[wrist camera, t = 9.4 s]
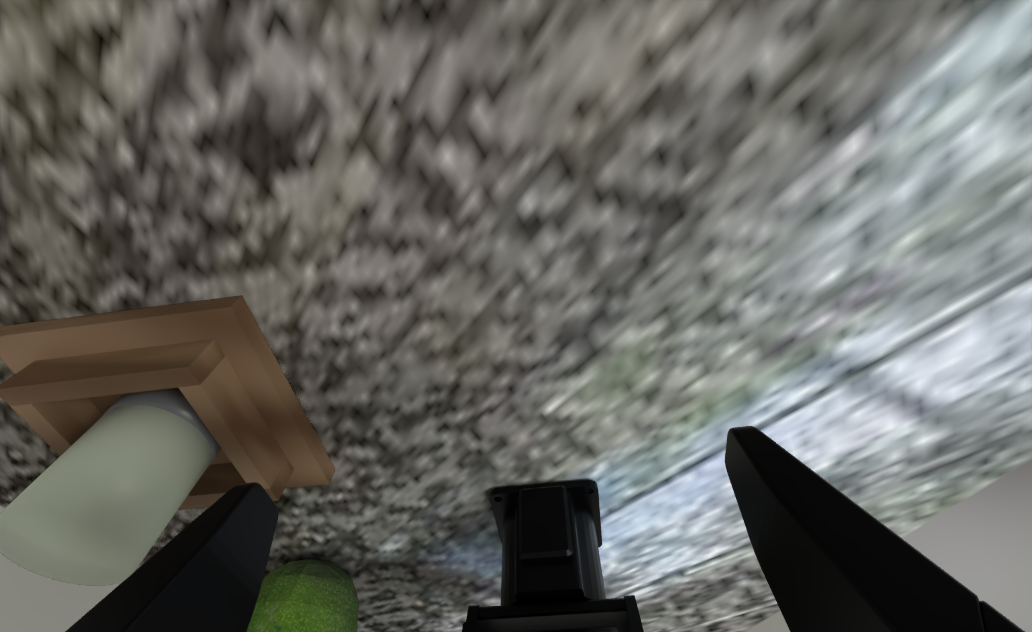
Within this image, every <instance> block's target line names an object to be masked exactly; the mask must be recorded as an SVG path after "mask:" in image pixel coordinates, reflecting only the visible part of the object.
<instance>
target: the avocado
mask: <svg viewBox="0 0 1032 632" xmlns="http://www.w3.org/2000/svg"><path fill="white" fill-rule="evenodd" d="M358 607H359V605H358V597H357V593H356V590H355V587H354V584H353V581H352V580H351V578H350V577H349V576H348V575H347V574H346V573H345V572H344V571H343V570H342V569H340V568H339V567H338V566H337V565H336V564H334V563H332V562H328V561H323V560H318V559H308V560H299V561H290V562H288V563H287V564H285V565H283V566H281V567H279V568H277V569H275V570H274V571H272V572H271V573H270V574H269V575H267V576H266V577H265V578H264V579H263V581H262V585H261V589H260V592H259V596H258V600H257V603H256V606H255V609H254V612H253V615H252V618H251V621H250V624H249V627H248V629H247V632H357V620H358Z"/></svg>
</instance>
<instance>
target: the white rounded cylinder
mask: <svg viewBox="0 0 1032 632" xmlns="http://www.w3.org/2000/svg"><path fill="white" fill-rule="evenodd" d="M221 449H222V448H221V447H220V445H219V444H218V443H217V441H216V440H215V438H214V437H213V435H212V434H211V433H210V431H209V430H208V428H207V427H206V426H205V424H204V423H203V421H202V420H201V419H200V417H199V416H198V414H197V413H196V412H195V410H194V409H193V407H192V406H191V405H190V403H189V402H188V400H187V399H186V398H185V396H184V395H183V393H182V392H181V391H180V389H179V388H169V389H160V390H151V391H143V392H134V393H125V394H124V395H123V396H122V397H121V398H120V399H119V400H118V401H117V402H116V403H114V404H113V405H112V406H111V407H110V408H109V409H108V410H107V411H106V412H105V413H104V414H103V415H102V417H101V418H100V419H99V420H98V421H97V422H96V423H95V424H94V425H93V426H92V427H91V428H90V429H89V430H88V431H87V432H85V433H84V434H83V435H82V436H81V437H80V438H79V439H78V440H77V441H76V442H75V443H74V444H73V445H72V446H71V447H70V448H69V449H67V450H66V451H65V452H64V453H63V454H62V455H61V456H60V457H59V458H58V459H57V460H56V461H55V462H54V463H53V464H52V465H51V466H49V467H48V468H47V469H46V470H45V471H44V472H43V473H42V474H41V475H40V476H39V477H38V478H37V479H36V480H35V481H34V482H33V483H31V484H30V485H29V486H28V487H27V488H26V489H25V490H24V491H23V492H22V493H21V494H20V495H19V496H18V497H17V498H16V499H15V500H13V501H12V502H11V503H10V504H9V505H8V506H7V507H6V508H5V509H4V510H3V511H2V512H1V513H0V553H1V554H2V555H4V556H5V557H6V558H8V559H9V560H11V561H12V562H14V563H15V564H17V565H19V566H21V567H23V568H25V569H27V570H29V571H31V572H34V573H36V574H39V575H41V576H44V577H47V578H51V579H54V580H58V581H62V582H66V583H72V584H78V585H87V586H105V585H112V584H117V583H120V582H123V581H124V580H126V579H127V578H128V577H129V576H130V575H131V574H133V573H134V571H135V570H136V569H137V567H138V566H139V564H140V563H141V561H142V560H143V559H144V557H145V556H146V554H147V553H148V551H149V550H150V549H151V547H152V546H153V544H154V543H155V541H156V540H157V539H158V537H159V536H160V534H161V533H162V531H163V530H164V529H165V527H166V526H167V524H168V523H169V521H170V520H171V519H172V517H173V516H174V514H175V513H176V511H177V510H178V509H179V507H180V506H181V504H182V503H183V501H184V500H185V499H186V497H187V496H188V494H189V493H190V491H191V490H192V489H193V487H194V486H195V484H196V483H197V481H198V480H199V479H200V477H201V476H202V474H203V473H204V471H205V470H206V469H207V468H208V467H209V466H210V465H211V463H212V462H213V460H214V459H215V458H216V456H217V455H218V453H219V452H220V450H221Z"/></svg>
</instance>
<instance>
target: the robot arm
mask: <svg viewBox="0 0 1032 632" xmlns="http://www.w3.org/2000/svg"><path fill="white" fill-rule="evenodd" d="M725 465H726V470H727V473H728V476H729V479H730V482H731V485H732V488H733V491H734V494H735V497H736V500H737V503H738V506H739V509H740V511H741V514H742V517H743V520H744V523H745V526H746V529H747V532H748V535H749V538H750V541H751V544H752V547H753V549H754V552H755V555H756V557H757V560H758V562H759V564H760V567H761V569H762V571H763V573H764V575H765V578H766V580H767V582H768V584H769V586H770V588H771V591H772V593H773V595H774V597H775V599H776V602H777V604H778V606H779V608H780V610H781V612H782V615H783V617H784V619H785V621H786V623H787V625H788V627H789V630H790V632H1025V631H1023V630H1022V629H1020V628H1019V627H1018V626H1017V625H1015V624H1014V623H1013V622H1011V621H1010V620H1009V619H1007V618H1006V617H1005V616H1003V615H1002V614H1001V613H999V612H998V611H997V610H995V609H994V608H993V607H991V606H990V605H989V604H987V603H986V602H984V601H979V599H978V597H977V595H975V594H974V593H973V592H971V591H970V590H969V589H968V588H966V587H965V586H964V585H962V584H961V583H959V582H958V581H957V580H956V579H954V578H953V577H952V576H950V575H949V574H948V573H946V572H945V571H944V570H943V569H941V568H940V567H938V566H937V565H936V564H935V563H933V562H932V561H930V560H929V559H928V558H927V557H925V556H924V555H923V554H922V553H920V552H919V551H918V550H916V549H915V548H914V547H912V546H911V545H910V544H908V543H907V542H906V541H904V540H903V539H902V538H901V537H899V536H898V535H897V534H895V533H894V532H893V531H891V530H890V529H889V528H887V527H886V526H885V525H883V524H882V523H881V522H879V521H878V520H877V519H876V518H874V517H873V516H872V515H870V514H869V513H868V512H866V511H865V510H864V509H862V508H861V507H860V506H858V505H857V504H856V503H855V502H853V501H852V500H851V499H849V498H848V497H847V496H845V495H844V494H843V493H841V492H840V491H839V490H837V489H836V488H835V487H833V486H832V485H831V484H830V483H828V482H827V481H826V480H824V479H823V478H822V477H820V476H819V475H818V474H816V473H815V472H814V471H812V470H811V469H810V468H809V467H807V466H806V465H805V464H803V463H802V462H801V461H799V460H798V459H797V458H795V457H794V456H793V455H791V454H790V453H789V452H787V451H786V450H785V449H784V448H782V447H781V446H780V445H778V444H777V443H776V442H774V441H773V440H772V439H770V438H769V437H768V436H766V435H765V434H764V433H763V432H761V431H760V430H759V429H757V428H755V427H753V426H745V427H736V428H731V429H730V430H729V431H728V435H727V444H726V453H725ZM490 502H491V505H492V509H493V513H494V516H495V520H496V523H497V527H498V531H499V534H500V538H501V542H502V577H501V606H488V607H480V606H479V605H473V606H469V608H468V614H467V619H466V622H464V623H463V629H462V632H644V631H643V627H642V623H641V619H640V615H639V611H638V607H637V603H636V599H635V596H634V595H630V596H624V598H615V599H606V595H605V589H604V582H603V576H602V569H601V563H600V556H599V550H598V547H600V546H601V545H602V536H601V522H600V509H599V495H598V486H597V483H596V482H595V481H592V480H585V481H574V482H563V483H552V484H541V485H529V486H518V487H507V488H496V489H493V490H492V491H491V492H490ZM277 520H278V509H277V506H276V504H275V503H274V502H273V500H272V499H271V498H270V496H269V495H268V493H267V492H266V491H265V489H264V488H263V487H262V486H261V485H260V484H259V483H257V482H252V483H243V484H238V485H235V486H233V487H232V488H231V489H230V490H228V491H227V492H226V493H225V494H224V495H223V496H222V497H220V498H219V499H218V500H217V501H216V502H215V503H213V504H212V505H211V506H210V507H209V508H208V509H207V510H205V511H204V512H203V513H202V514H201V515H200V516H198V517H197V518H196V519H195V520H194V521H193V522H192V523H190V524H189V525H188V526H187V527H186V528H185V529H183V530H182V531H181V532H180V533H179V534H178V535H176V536H175V537H174V538H173V539H172V540H171V541H170V542H168V543H167V544H166V545H165V546H164V547H163V548H161V549H160V550H159V551H158V552H157V553H156V554H155V555H153V556H152V557H151V558H150V559H149V560H148V561H146V562H145V563H144V564H143V565H142V566H141V567H140V568H138V569H137V570H136V571H135V572H134V573H133V574H131V575H130V576H129V577H128V578H127V579H126V580H124V581H123V582H122V583H121V584H120V585H119V586H118V587H116V588H115V589H114V590H113V591H112V592H111V593H110V594H108V595H107V596H106V597H105V598H104V599H102V600H101V601H100V602H99V603H98V604H97V605H96V606H95V607H93V608H92V609H91V610H90V611H89V612H87V613H86V614H85V615H84V616H83V617H82V618H81V619H79V620H78V621H77V622H76V623H75V624H74V625H73V626H71V627H70V628H69V629H68V630H67V631H65V632H247V629H248V627H249V624H250V621H251V618H252V615H253V612H254V609H255V606H256V603H257V600H258V596H259V592H260V589H261V585H262V581H263V577H264V573H265V569H266V565H267V561H268V557H269V553H270V549H271V545H272V541H273V536H274V532H275V528H276V524H277Z"/></svg>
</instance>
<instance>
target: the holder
mask: <svg viewBox="0 0 1032 632" xmlns="http://www.w3.org/2000/svg"><path fill="white" fill-rule="evenodd" d="M0 359H1V360H2V361H3V362H4V363H5V364H6V365H7V366H8V367H9V368H10V369H11V370H12V371H13V373H14V374H15V375H13V376H12V377H11V378H9V379H8V380H6V381H5V382H3V383H2V384H1V385H0V397H1V398H2V399H3V400H4V401H5V402H6V403H7V404H8V405H9V406H10V407H11V408H12V409H13V410H14V411H15V412H16V413H17V414H18V415H19V416H20V417H21V418H22V419H23V420H24V421H25V422H26V423H27V424H28V425H29V426H30V427H31V428H32V429H33V430H34V431H35V432H36V433H37V434H38V435H39V436H40V437H41V438H42V439H43V440H44V441H45V442H46V443H47V444H48V445H49V446H50V447H51V448H52V449H53V450H54V451H55V452H56V453H57V454H58V455H59V456H61V455H62V454H63V453H64V452H65V451H66V450H67V449H69V448H70V447H71V446H72V445H73V444H74V443H75V442H76V441H77V440H78V439H79V438H80V437H81V436H82V435H83V434H84V433H85V432H87V431H88V430H89V429H90V428H91V427H92V426H93V425H94V424H95V423H96V422H97V421H98V420H99V419H100V418H101V417H102V415H103V414H104V413H105V412H106V411H107V410H108V409H109V408H110V407H111V406H112V405H113V404H114V403H116V402H117V401H118V400H119V399H120V398H121V397H122V396H123V395H124V394H125V393H134V392H143V391H151V390H160V389H169V388H179V389H180V391H181V392H182V393H183V395H184V396H185V398H186V399H187V400H188V402H189V403H190V405H191V406H192V407H193V409H194V410H195V412H196V413H197V414H198V416H199V417H200V419H201V420H202V421H203V423H204V424H205V426H206V427H207V428H208V430H209V431H210V433H211V434H212V435H213V437H214V438H215V440H216V441H217V443H218V444H219V445H220V447H221V448H222V449H221V450H220V452H219V453H218V455H217V456H216V458H215V459H214V460H213V462H212V463H211V465H210V466H209V467H208V468H207V469H206V470H205V471H204V473H203V474H202V476H201V477H200V479H199V480H198V481H197V483H196V484H195V486H194V487H193V489H192V490H191V491H190V493H189V494H188V496H187V497H186V499H185V500H184V501H183V503H182V504H181V506H180V507H179V509H178V510H182V509H193V508H204V507H210V506H211V505H212V504H213V503H215V502H216V501H217V500H218V499H219V498H220V497H222V496H223V495H224V494H225V493H226V492H227V491H228V490H230V489H231V488H232V487H233V486H235V485H238V484H243V483H252V482H257V483H259V484H260V485H261V486H262V487H263V488H264V489H265V491H266V492H267V493H268V495H269V496H270V498H271V499H272V500H273V501H278V500H279V498H280V496H281V494H282V492H283V490H284V488H292V487H303V486H314V485H325V484H330V482H331V479H332V477H333V474H334V472H335V468H334V466H333V464H332V463H331V461H330V459H329V457H328V455H327V453H326V451H325V450H324V448H323V446H322V444H321V442H320V440H319V438H318V436H317V435H316V433H315V431H314V429H313V427H312V425H311V423H310V422H309V420H308V418H307V416H306V414H305V412H304V410H303V409H302V407H301V405H300V403H299V401H298V399H297V397H296V395H295V394H294V392H293V390H292V388H291V386H290V384H289V382H288V381H287V379H286V377H285V375H284V373H283V371H282V369H281V368H280V366H279V364H278V362H277V360H276V358H275V356H274V354H273V353H272V351H271V349H270V347H269V345H268V343H267V341H266V340H265V338H264V336H263V334H262V332H261V330H260V328H259V327H258V325H257V323H256V321H255V319H254V317H253V315H252V313H251V312H250V310H249V308H248V306H247V304H246V302H245V300H244V299H243V297H242V296H235V297H227V298H219V299H211V300H203V301H196V302H188V303H180V304H172V305H164V306H157V307H149V308H141V309H133V310H126V311H118V312H110V313H102V314H94V315H87V316H79V317H71V318H63V319H55V320H48V321H40V322H32V323H24V324H16V325H9V326H2V327H0Z"/></svg>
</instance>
